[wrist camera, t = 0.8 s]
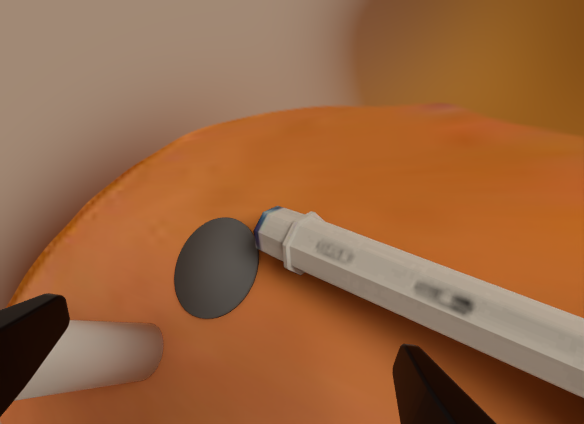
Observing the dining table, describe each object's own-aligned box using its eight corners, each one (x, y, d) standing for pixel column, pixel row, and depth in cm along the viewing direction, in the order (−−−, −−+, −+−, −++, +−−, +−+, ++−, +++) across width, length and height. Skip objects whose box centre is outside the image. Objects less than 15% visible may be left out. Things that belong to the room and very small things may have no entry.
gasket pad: (259, 312, 22) (258, 311, 22) (171, 323, 25) (169, 323, 25) (257, 208, 26) (256, 207, 25) (181, 229, 29) (179, 228, 29)
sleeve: (159, 380, 23) (-60, 416, 13) (120, 381, 25) (-103, 414, 14) (166, 321, 25) (-19, 310, 15) (129, 326, 27) (-61, 319, 16)
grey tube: (271, 188, 21) (1172, 436, 5) (312, 222, 26) (838, 400, 10) (239, 251, 20) (1206, 772, 4) (287, 273, 25) (823, 555, 9)
